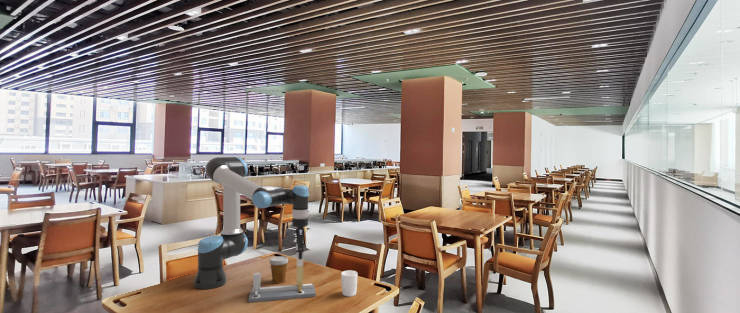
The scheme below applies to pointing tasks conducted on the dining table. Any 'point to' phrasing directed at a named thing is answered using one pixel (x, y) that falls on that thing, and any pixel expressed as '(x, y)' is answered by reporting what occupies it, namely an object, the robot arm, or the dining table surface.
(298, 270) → the gold pointer slider
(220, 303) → the dining table surface
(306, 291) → the gauge plate
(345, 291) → the white cup
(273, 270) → the disposable coffee cup
